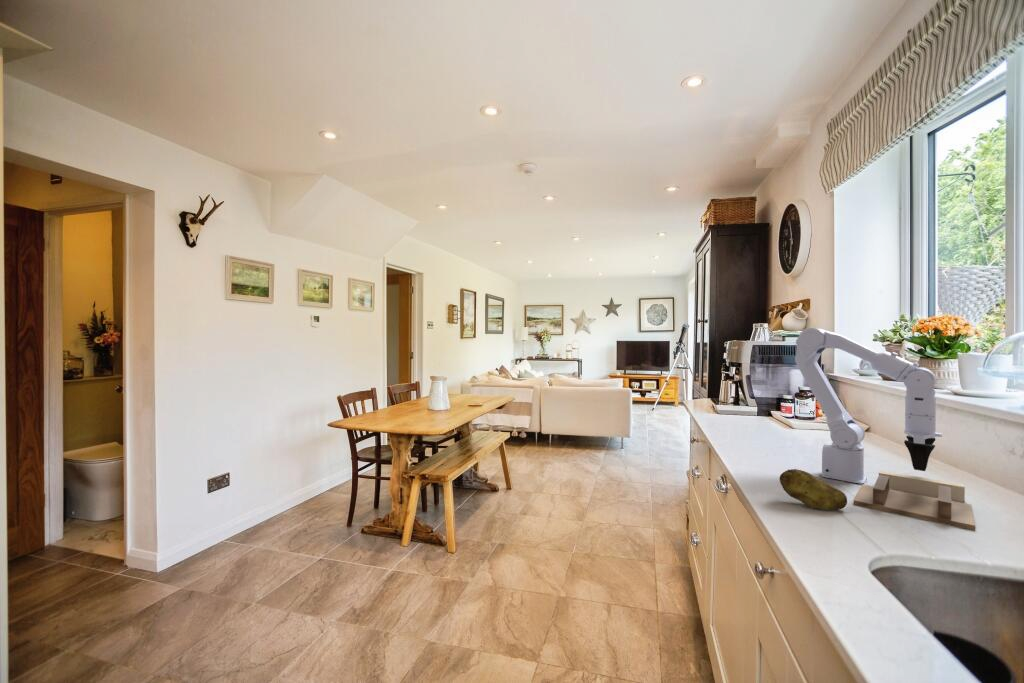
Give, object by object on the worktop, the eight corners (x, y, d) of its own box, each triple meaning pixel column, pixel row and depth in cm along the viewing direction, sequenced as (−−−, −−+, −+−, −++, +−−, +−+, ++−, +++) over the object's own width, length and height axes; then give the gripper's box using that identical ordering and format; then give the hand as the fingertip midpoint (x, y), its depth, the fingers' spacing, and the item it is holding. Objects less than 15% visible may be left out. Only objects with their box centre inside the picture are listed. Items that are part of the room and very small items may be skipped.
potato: (839, 519, 95) (840, 483, 95) (775, 502, 105) (775, 469, 105) (849, 509, 101) (849, 475, 101) (787, 494, 111) (787, 463, 111)
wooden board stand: (853, 504, 104) (853, 485, 104) (862, 487, 115) (862, 471, 115) (975, 530, 90) (975, 508, 90) (971, 508, 101) (971, 489, 101)
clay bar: (878, 487, 116) (878, 472, 116) (879, 484, 118) (879, 470, 118) (964, 503, 105) (964, 487, 105) (963, 500, 107) (964, 484, 107)
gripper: (942, 420, 103) (941, 476, 103) (941, 412, 114) (941, 464, 114) (902, 416, 108) (902, 470, 108) (905, 409, 119) (905, 458, 119)
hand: (920, 466), depth 111 cm, fingers open, 7 cm apart
